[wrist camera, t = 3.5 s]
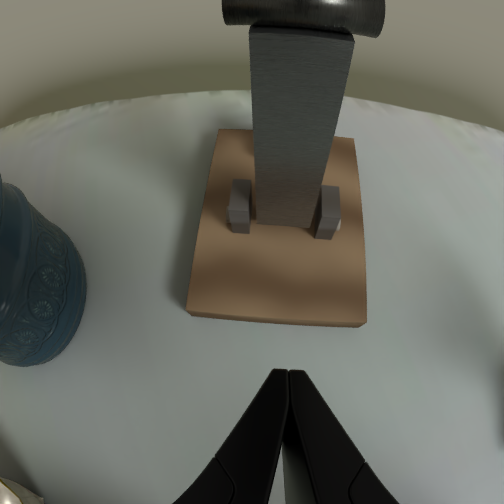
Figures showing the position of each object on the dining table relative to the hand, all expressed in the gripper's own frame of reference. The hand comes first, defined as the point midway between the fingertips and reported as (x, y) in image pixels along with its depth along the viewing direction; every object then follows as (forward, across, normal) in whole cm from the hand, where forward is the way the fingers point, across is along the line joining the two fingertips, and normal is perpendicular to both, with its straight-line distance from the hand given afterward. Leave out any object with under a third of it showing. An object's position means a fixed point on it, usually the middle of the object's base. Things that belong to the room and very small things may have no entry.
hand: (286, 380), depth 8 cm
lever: (+16, 0, 0) cm, 16 cm away
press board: (+17, 0, +2) cm, 17 cm away
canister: (+12, +21, +7) cm, 26 cm away
